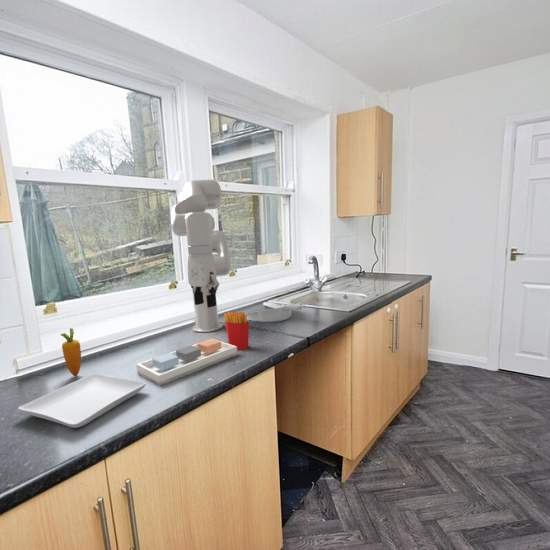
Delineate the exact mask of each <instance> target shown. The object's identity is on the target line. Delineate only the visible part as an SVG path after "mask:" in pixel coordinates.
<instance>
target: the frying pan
mask: <svg viewBox="0 0 550 550" xmlns="http://www.w3.org/2000/svg"><path fill="white" fill-rule="evenodd" d="M262 305H263V309H262V310H257V311H253V312H252V311H251V312H247V313H245V314H246V315H247V321H250V320H251V322H257V321H258V323H274V322H281V321H282V322H283V321H286V320H288V319H290V318H291V316H292V310H293V311H295V312H300V311H301V310H302V309H305V308H306V305H305V304H304V303H299V302H287V303H284V304H281V305H280V304H278V303H275V302H270V301H265V302H263V303H262Z"/></svg>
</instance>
